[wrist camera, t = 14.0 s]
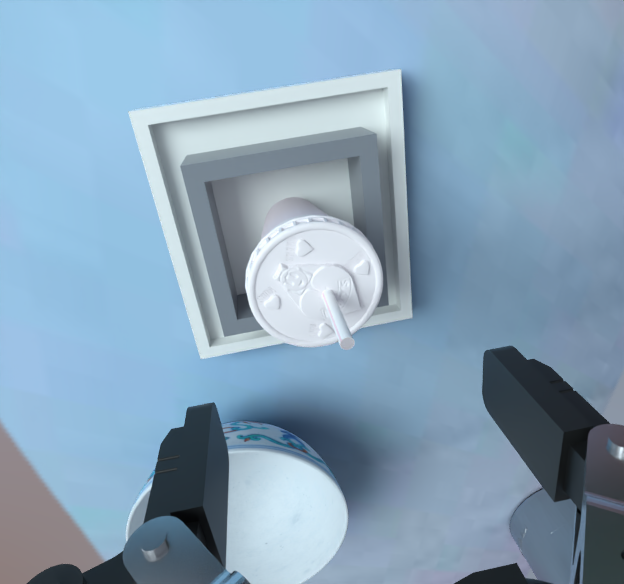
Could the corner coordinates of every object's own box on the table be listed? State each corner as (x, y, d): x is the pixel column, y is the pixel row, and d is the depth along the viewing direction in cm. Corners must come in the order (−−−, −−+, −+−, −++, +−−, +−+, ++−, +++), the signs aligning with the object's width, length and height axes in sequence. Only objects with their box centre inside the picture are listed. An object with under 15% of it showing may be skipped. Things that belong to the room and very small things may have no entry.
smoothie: (313, 286, 32) (363, 426, 19) (226, 248, 30) (218, 377, 17) (360, 203, 30) (450, 299, 17) (270, 156, 28) (298, 226, 15)
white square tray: (389, 69, 28) (416, 68, 23) (402, 304, 35) (425, 336, 31) (136, 108, 27) (117, 115, 22) (202, 342, 34) (197, 381, 30)
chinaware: (160, 363, 34) (141, 438, 27) (351, 391, 38) (377, 463, 31) (135, 509, 40) (113, 601, 33) (303, 521, 43) (315, 606, 36)
